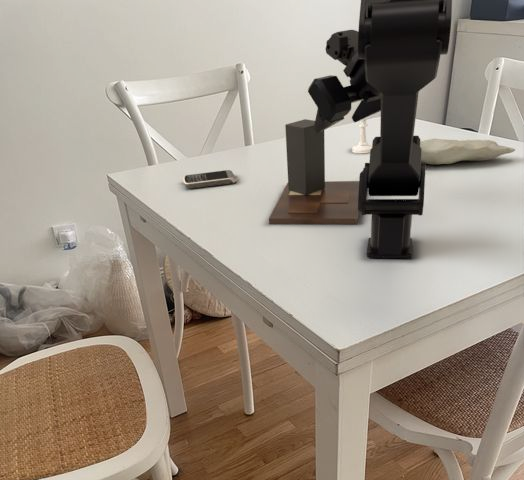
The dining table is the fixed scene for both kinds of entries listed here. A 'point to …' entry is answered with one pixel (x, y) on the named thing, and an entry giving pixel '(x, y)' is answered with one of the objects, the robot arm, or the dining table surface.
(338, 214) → the game board
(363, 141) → the chess piece
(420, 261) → the dining table surface
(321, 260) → the dining table surface
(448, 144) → the stone tool replica
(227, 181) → the cell phone
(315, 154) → the dark grey rectangular block
